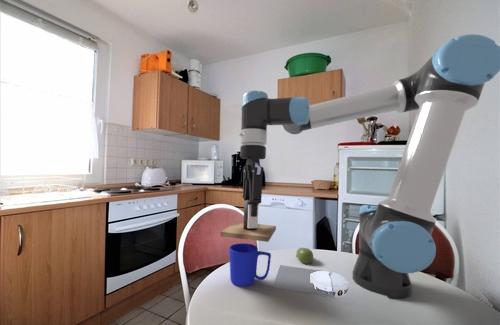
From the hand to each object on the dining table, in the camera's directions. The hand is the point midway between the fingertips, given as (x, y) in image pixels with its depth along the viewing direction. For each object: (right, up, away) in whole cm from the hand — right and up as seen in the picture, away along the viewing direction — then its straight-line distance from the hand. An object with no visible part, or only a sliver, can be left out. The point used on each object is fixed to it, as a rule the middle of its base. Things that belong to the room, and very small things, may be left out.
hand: (250, 225), depth 66 cm
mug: (0, -17, -1) cm, 17 cm away
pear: (+20, -18, +18) cm, 32 cm away
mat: (+16, -17, +2) cm, 23 cm away
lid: (0, -2, 0) cm, 2 cm away
